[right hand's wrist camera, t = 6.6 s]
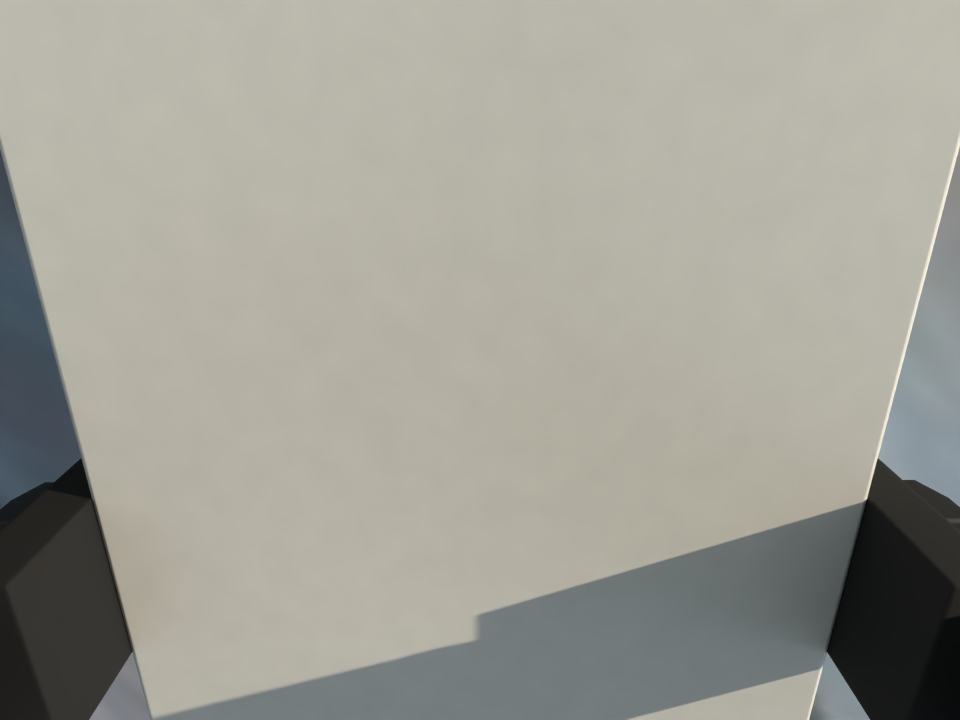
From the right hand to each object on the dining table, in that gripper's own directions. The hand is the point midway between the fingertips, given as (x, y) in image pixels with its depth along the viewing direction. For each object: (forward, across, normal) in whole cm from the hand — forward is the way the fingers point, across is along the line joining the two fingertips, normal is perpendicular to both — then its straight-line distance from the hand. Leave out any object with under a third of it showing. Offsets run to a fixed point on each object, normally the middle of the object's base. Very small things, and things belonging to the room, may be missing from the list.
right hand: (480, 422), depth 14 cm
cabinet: (+3, 0, -7) cm, 8 cm away
